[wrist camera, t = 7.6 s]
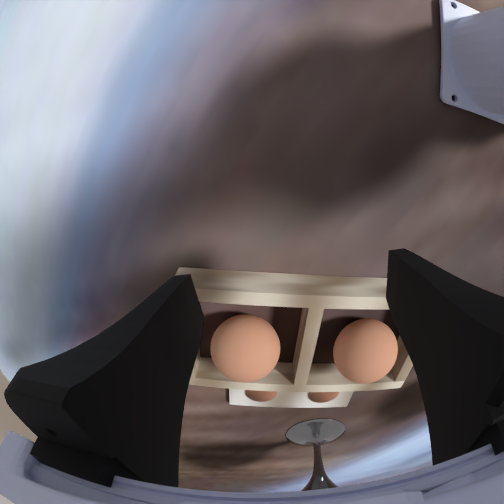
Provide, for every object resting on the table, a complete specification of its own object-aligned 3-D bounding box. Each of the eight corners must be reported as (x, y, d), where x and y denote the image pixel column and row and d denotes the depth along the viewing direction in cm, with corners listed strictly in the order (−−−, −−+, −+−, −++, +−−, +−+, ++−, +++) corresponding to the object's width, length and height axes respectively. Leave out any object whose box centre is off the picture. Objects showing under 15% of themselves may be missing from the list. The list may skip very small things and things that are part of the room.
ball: (394, 305, 22) (415, 349, 18) (378, 350, 24) (392, 394, 20) (335, 304, 22) (347, 351, 18) (323, 351, 25) (331, 397, 20)
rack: (430, 279, 21) (443, 297, 19) (376, 401, 28) (381, 419, 26) (179, 266, 22) (169, 286, 19) (195, 397, 29) (191, 416, 26)
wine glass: (342, 444, 33) (352, 546, 19) (281, 448, 33) (279, 552, 20) (355, 413, 29) (373, 535, 16) (283, 418, 30) (282, 545, 16)
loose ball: (267, 293, 22) (267, 341, 18) (287, 340, 24) (289, 388, 20) (205, 309, 23) (192, 356, 19) (230, 353, 25) (223, 400, 21)
